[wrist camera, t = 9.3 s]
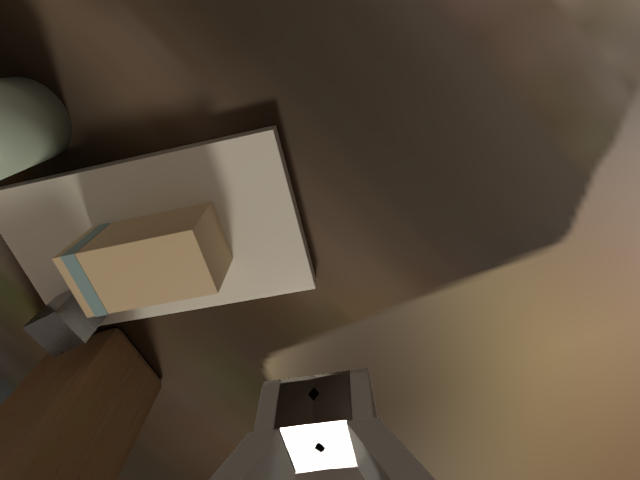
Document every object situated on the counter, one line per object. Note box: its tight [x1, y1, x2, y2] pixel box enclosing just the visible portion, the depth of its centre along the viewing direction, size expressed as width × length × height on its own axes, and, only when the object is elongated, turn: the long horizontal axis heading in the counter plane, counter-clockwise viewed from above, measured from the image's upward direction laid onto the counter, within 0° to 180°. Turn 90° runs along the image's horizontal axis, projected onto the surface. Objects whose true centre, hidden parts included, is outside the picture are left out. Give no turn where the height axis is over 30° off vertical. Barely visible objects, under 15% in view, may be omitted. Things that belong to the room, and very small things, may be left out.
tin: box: [23, 290, 107, 358], centre depth 39 cm, size 4×4×5 cm
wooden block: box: [0, 328, 161, 480], centre depth 39 cm, size 10×10×20 cm
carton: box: [52, 202, 233, 318], centre depth 35 cm, size 6×6×12 cm
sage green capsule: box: [0, 77, 72, 180], centre depth 32 cm, size 7×7×7 cm
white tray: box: [0, 125, 316, 326], centre depth 39 cm, size 16×28×2 cm, turn 102°
